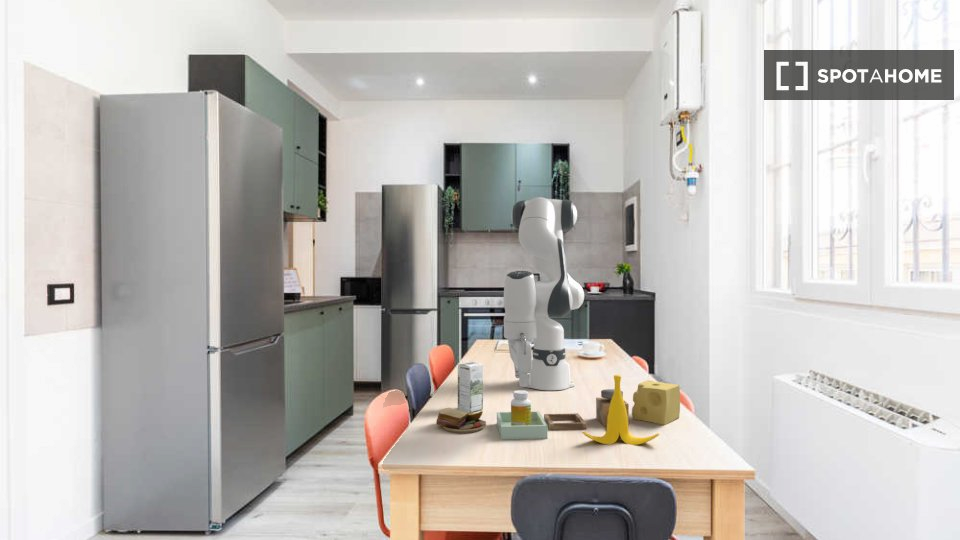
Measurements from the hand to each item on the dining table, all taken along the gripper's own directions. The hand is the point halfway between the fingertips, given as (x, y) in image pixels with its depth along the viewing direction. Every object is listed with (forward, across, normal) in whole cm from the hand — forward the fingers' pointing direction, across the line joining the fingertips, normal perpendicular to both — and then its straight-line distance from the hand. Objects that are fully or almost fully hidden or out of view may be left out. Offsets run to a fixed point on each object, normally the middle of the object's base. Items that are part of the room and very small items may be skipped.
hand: (520, 381), depth 147 cm
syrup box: (+14, +21, +13) cm, 29 cm away
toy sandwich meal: (+14, +4, +16) cm, 22 cm away
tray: (+13, -1, 0) cm, 13 cm away
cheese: (+14, +8, -41) cm, 44 cm away
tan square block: (+14, +6, -27) cm, 31 cm away
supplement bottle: (+13, 0, 0) cm, 13 cm away
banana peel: (+14, -11, -26) cm, 31 cm away
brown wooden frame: (+13, +4, -13) cm, 19 cm away
